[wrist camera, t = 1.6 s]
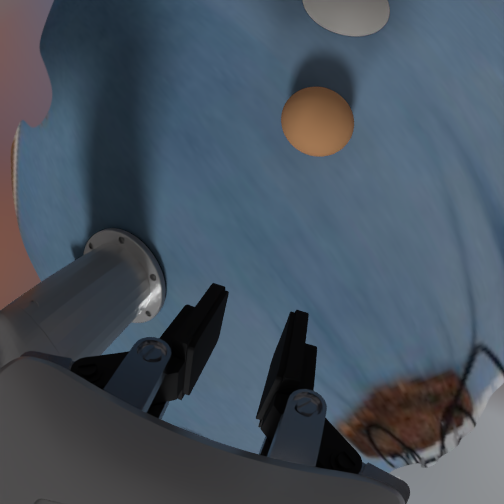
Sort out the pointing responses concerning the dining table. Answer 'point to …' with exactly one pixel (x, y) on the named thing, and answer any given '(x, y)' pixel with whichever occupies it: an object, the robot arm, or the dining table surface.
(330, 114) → the ball
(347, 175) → the dining table surface
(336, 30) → the plain round gray disc
